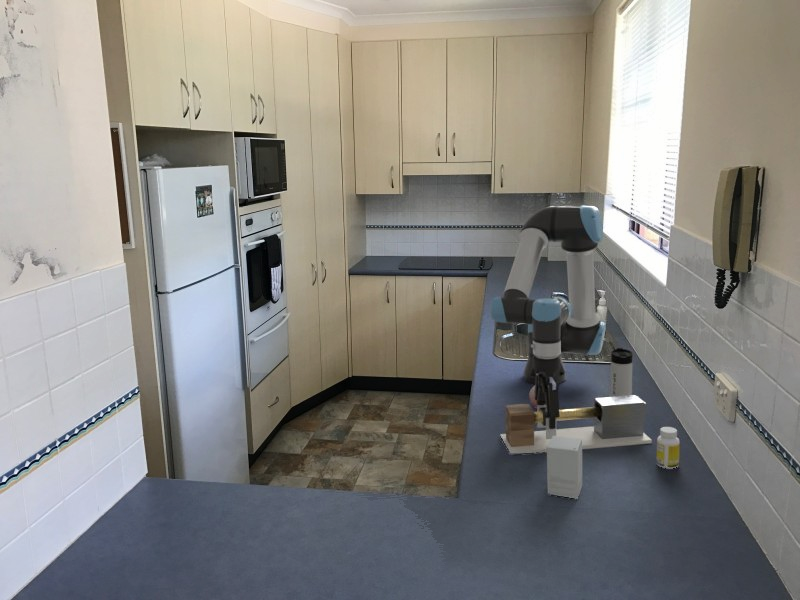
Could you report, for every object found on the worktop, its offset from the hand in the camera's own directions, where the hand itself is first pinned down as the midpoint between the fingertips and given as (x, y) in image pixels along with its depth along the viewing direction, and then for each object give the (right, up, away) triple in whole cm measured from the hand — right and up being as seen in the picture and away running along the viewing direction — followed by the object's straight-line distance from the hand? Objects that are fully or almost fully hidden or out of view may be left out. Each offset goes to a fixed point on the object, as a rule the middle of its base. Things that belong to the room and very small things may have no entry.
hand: (546, 432), depth 185 cm
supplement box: (-1, -9, -26) cm, 27 cm away
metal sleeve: (+21, -1, +2) cm, 21 cm away
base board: (+8, -3, +1) cm, 9 cm away
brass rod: (+3, +3, 0) cm, 5 cm away
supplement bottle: (+28, -5, -16) cm, 32 cm away
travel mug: (+27, +2, +19) cm, 34 cm away
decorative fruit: (+4, +2, +24) cm, 24 cm away
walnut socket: (-8, -4, 0) cm, 8 cm away
